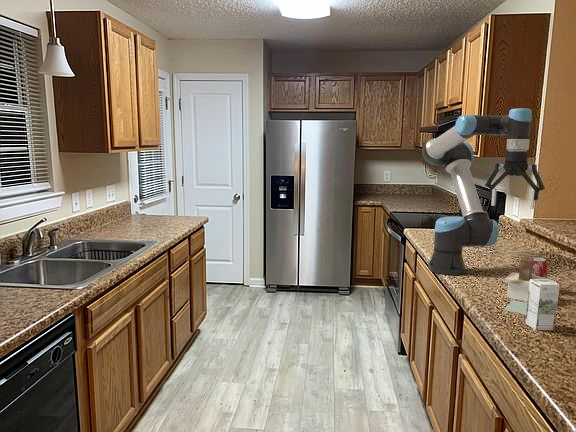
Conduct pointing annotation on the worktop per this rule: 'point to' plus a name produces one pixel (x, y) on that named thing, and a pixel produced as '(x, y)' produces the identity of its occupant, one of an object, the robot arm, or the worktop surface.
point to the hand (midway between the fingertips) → (512, 207)
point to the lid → (523, 273)
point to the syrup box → (542, 304)
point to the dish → (517, 291)
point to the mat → (517, 307)
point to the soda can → (539, 267)
